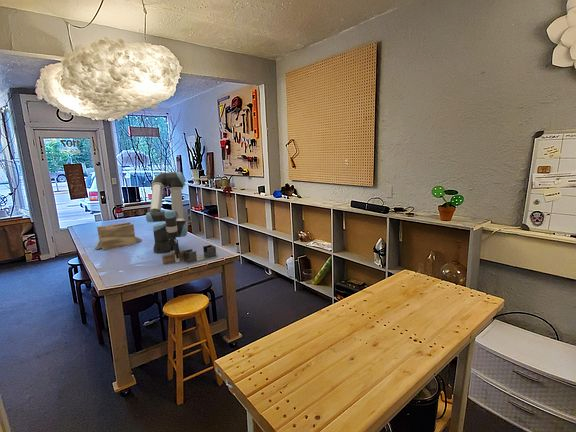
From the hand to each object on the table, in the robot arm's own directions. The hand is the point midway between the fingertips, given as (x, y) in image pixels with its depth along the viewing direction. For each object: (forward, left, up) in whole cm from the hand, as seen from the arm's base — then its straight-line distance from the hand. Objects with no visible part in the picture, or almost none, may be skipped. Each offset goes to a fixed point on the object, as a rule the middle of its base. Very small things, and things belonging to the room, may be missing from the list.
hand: (175, 260), depth 228 cm
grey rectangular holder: (+9, +16, 0) cm, 18 cm away
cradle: (-78, -23, 0) cm, 82 cm away
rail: (0, 0, 0) cm, 1 cm away
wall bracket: (-78, -22, -1) cm, 81 cm away
